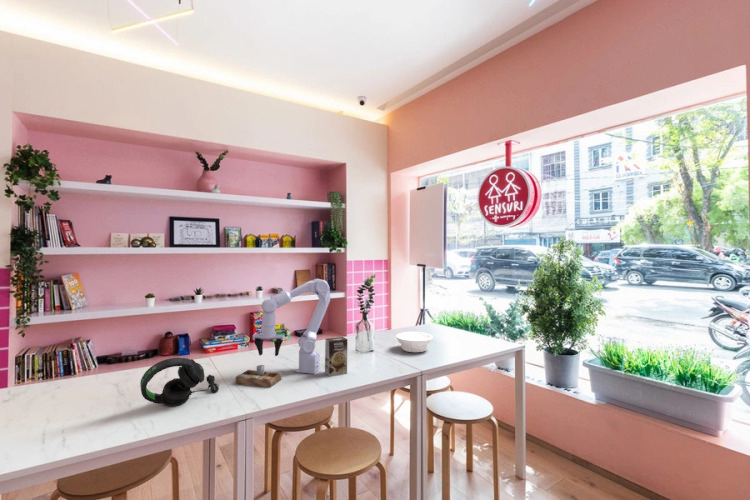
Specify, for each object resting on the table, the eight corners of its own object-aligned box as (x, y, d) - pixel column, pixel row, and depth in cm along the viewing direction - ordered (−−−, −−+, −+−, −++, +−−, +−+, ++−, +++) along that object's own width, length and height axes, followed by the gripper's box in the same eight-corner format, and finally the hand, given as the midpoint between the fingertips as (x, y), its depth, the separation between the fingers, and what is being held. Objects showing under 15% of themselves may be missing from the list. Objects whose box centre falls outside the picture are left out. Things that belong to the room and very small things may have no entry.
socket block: (281, 379, 153) (281, 372, 153) (270, 387, 144) (270, 379, 144) (247, 376, 157) (248, 369, 157) (235, 383, 148) (235, 376, 148)
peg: (264, 379, 154) (264, 364, 154) (263, 381, 151) (263, 367, 151) (257, 379, 153) (257, 365, 153) (255, 382, 150) (255, 367, 150)
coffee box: (329, 376, 157) (329, 341, 157) (324, 372, 163) (324, 338, 163) (347, 373, 161) (347, 339, 161) (342, 369, 167) (342, 336, 167)
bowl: (388, 349, 201) (388, 335, 201) (412, 343, 215) (412, 330, 215) (416, 357, 186) (416, 342, 186) (439, 350, 200) (439, 336, 200)
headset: (205, 417, 136) (129, 405, 116) (199, 392, 146) (128, 377, 126) (235, 381, 137) (164, 363, 117) (226, 359, 146) (160, 339, 126)
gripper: (287, 323, 162) (287, 353, 162) (257, 323, 163) (257, 352, 163) (281, 327, 155) (281, 357, 155) (250, 326, 156) (250, 356, 156)
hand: (268, 355), depth 158 cm, fingers open, 7 cm apart
